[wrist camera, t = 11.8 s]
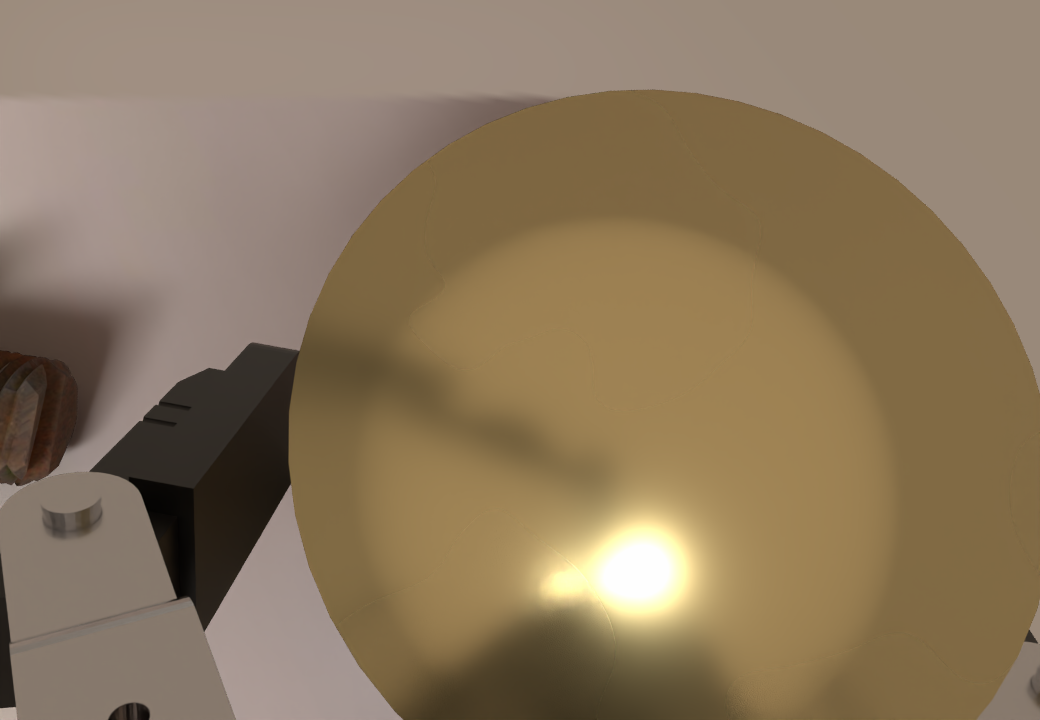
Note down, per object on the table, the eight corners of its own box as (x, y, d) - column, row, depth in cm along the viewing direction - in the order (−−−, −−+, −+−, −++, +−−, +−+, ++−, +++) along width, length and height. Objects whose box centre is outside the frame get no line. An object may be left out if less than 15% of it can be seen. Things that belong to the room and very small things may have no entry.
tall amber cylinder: (469, 696, 20) (464, 1024, 3) (412, 546, 21) (189, 218, 4) (612, 630, 21) (1210, 624, 4) (550, 487, 22) (816, 11, 5)
